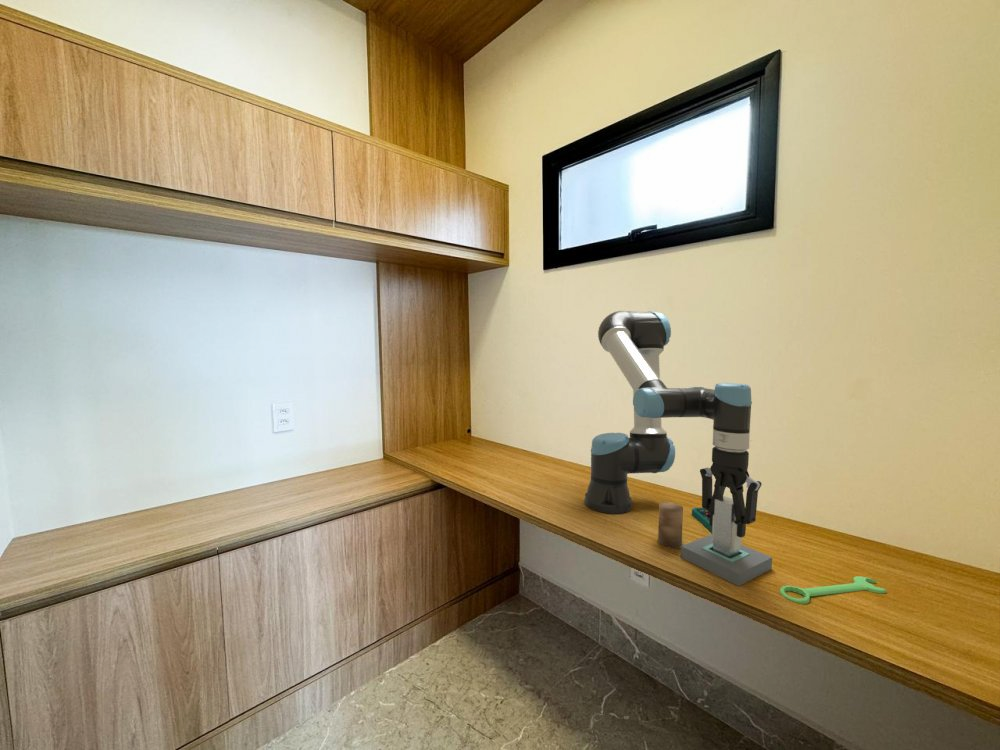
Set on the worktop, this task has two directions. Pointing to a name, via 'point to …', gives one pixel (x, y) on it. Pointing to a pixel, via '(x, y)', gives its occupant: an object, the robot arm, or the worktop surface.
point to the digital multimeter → (702, 516)
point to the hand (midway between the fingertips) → (726, 544)
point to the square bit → (724, 527)
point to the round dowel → (670, 525)
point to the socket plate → (727, 561)
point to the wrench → (832, 589)
